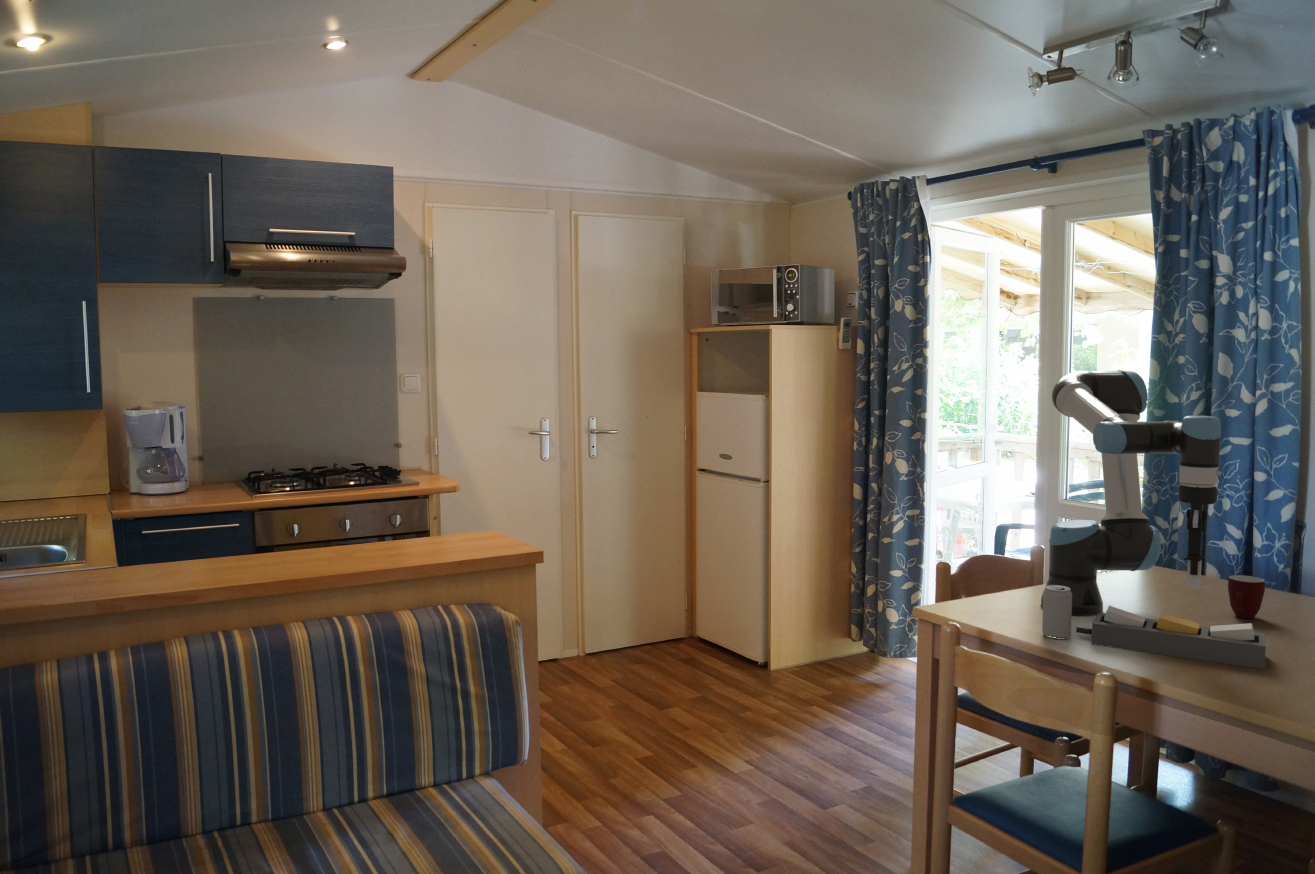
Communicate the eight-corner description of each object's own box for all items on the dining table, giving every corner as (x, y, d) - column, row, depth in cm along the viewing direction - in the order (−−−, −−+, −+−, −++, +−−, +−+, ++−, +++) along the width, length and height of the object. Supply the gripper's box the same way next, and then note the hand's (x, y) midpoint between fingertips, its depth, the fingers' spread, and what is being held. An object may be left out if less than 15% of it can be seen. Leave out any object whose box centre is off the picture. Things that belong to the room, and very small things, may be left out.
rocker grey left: (1103, 619, 220) (1106, 610, 219) (1106, 614, 224) (1109, 605, 223) (1140, 632, 216) (1143, 622, 215) (1142, 627, 220) (1145, 617, 219)
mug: (1260, 625, 233) (1262, 585, 233) (1222, 619, 238) (1224, 581, 238) (1264, 616, 242) (1266, 578, 241) (1228, 611, 247) (1230, 573, 246)
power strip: (1072, 641, 221) (1073, 620, 220) (1079, 630, 230) (1080, 610, 230) (1264, 669, 200) (1265, 646, 200) (1264, 655, 210) (1265, 633, 209)
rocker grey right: (1212, 642, 208) (1209, 631, 208) (1213, 636, 212) (1210, 625, 212) (1254, 639, 204) (1251, 628, 204) (1254, 633, 208) (1251, 623, 208)
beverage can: (1058, 641, 221) (1060, 591, 220) (1036, 634, 226) (1037, 586, 225) (1076, 638, 224) (1078, 588, 223) (1054, 631, 229) (1055, 583, 228)
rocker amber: (1156, 627, 214) (1158, 617, 213) (1158, 622, 218) (1160, 612, 217) (1195, 639, 210) (1198, 629, 209) (1196, 633, 214) (1199, 623, 213)
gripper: (1216, 489, 202) (1211, 596, 205) (1218, 482, 213) (1213, 584, 215) (1177, 487, 206) (1172, 592, 209) (1181, 480, 217) (1176, 580, 219)
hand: (1193, 588), depth 212 cm, fingers closed
